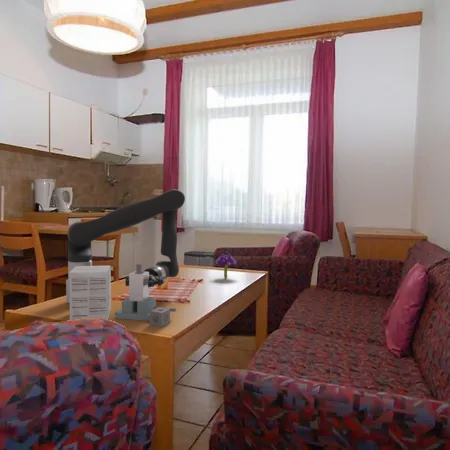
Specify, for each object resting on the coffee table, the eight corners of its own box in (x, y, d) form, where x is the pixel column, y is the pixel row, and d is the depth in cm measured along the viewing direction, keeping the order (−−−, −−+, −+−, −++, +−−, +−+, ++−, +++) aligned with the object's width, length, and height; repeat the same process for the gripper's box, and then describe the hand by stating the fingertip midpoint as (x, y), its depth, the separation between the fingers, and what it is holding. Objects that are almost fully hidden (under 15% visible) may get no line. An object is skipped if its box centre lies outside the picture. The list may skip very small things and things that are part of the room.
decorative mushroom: (230, 281, 203) (230, 253, 202) (210, 278, 209) (210, 251, 208) (240, 277, 214) (241, 251, 213) (221, 275, 220) (222, 249, 219)
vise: (115, 318, 135) (115, 265, 134) (127, 310, 145) (127, 261, 144) (170, 322, 132) (171, 268, 130) (179, 314, 141) (179, 264, 140)
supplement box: (75, 311, 143) (74, 265, 142) (111, 309, 146) (111, 265, 145) (68, 322, 130) (68, 272, 129) (108, 320, 133) (108, 271, 132)
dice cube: (161, 327, 126) (161, 312, 126) (149, 325, 128) (149, 310, 128) (169, 323, 131) (170, 309, 131) (158, 321, 133) (158, 307, 133)
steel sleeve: (129, 300, 136) (129, 273, 136) (135, 297, 142) (135, 271, 141) (143, 301, 135) (143, 274, 135) (148, 298, 141) (148, 271, 140)
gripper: (137, 265, 154) (119, 273, 138) (170, 267, 151) (156, 274, 136) (137, 284, 154) (119, 293, 138) (170, 285, 152) (156, 295, 136)
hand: (137, 284), depth 137 cm, fingers open, 8 cm apart
